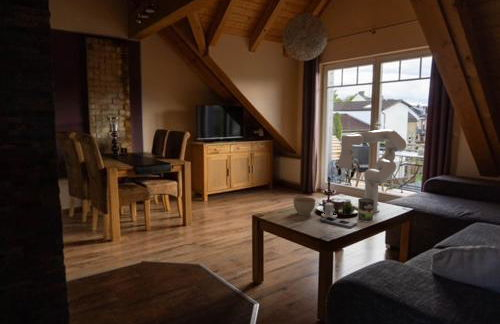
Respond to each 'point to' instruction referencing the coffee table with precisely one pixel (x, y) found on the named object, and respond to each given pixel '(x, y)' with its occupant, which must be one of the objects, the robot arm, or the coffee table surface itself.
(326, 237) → the coffee table surface
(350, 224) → the dark grey flat plate
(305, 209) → the planter bowl
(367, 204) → the coffee can
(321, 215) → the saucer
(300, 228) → the coffee table surface
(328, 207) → the light grey block
